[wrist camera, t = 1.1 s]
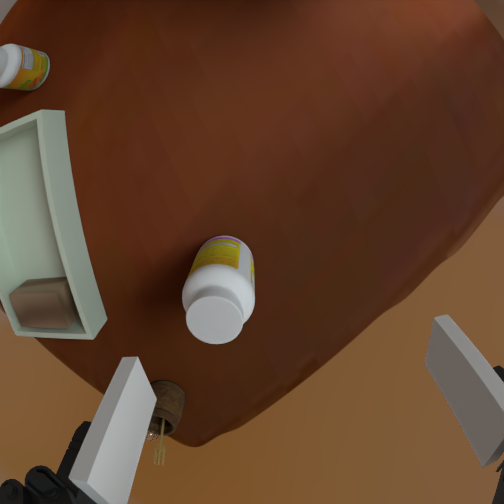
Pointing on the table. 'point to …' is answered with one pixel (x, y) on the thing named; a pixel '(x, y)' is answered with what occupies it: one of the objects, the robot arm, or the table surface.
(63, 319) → the walnut block
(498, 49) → the table surface
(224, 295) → the supplement bottle
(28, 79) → the supplement bottle
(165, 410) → the utensil holder
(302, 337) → the table surface
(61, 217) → the tote
